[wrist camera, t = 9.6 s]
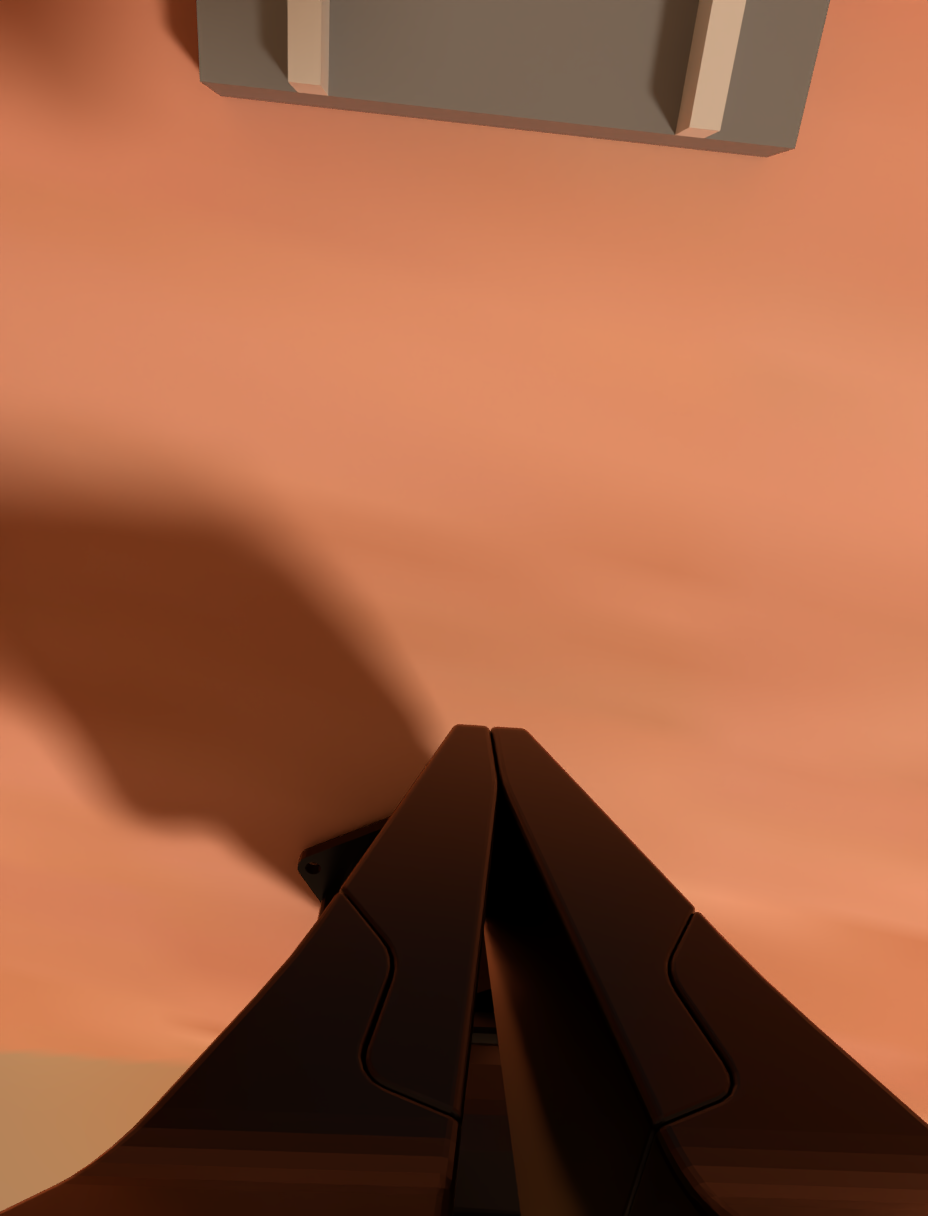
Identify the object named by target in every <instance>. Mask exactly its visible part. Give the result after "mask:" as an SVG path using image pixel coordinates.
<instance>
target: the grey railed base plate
mask: <svg viewBox="0 0 928 1216" xmlns="http://www.w3.org/2000/svg"><path fill="white" fill-rule="evenodd" d="M829 3H830V0H196V5H197V27H198V49H199V72H200V82H202V83H203V84H205V85H206V86H207V87H209V88H210V89H212V90H213V91H214V92H216V93H217V94H219V95H220V96H225V97H234V98H243V99H252V100H261V101H270V102H279V103H288V104H297V105H305V106H314V107H323V108H332V109H341V110H350V111H359V112H368V113H377V114H386V115H395V116H404V117H412V118H421V119H430V120H439V121H448V122H457V123H466V124H475V125H484V126H493V127H502V128H510V129H519V130H528V131H537V132H546V133H555V134H564V135H573V136H582V137H591V138H600V139H608V140H617V141H626V142H635V143H644V144H653V145H662V146H671V147H680V148H689V149H698V150H706V151H715V152H724V153H733V154H742V155H751V156H760V157H769V156H773V155H776V154H779V153H782V152H785V151H789V150H792V149H795V146H796V141H797V137H798V133H799V129H800V125H801V120H802V116H803V112H804V108H805V104H806V99H807V95H808V91H809V87H810V83H811V78H812V74H813V70H814V66H815V61H816V57H817V53H818V49H819V45H820V40H821V36H822V32H823V28H824V24H825V19H826V15H827V11H828V7H829Z"/></svg>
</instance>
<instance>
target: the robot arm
mask: <svg viewBox="0 0 928 1216" xmlns="http://www.w3.org/2000/svg"><path fill="white" fill-rule="evenodd" d="M311 862H314V863H317V864H319V865H311V864H310V863H311ZM298 871H299V873H300V875H301V876H302V877H303V879H304V880H305V881H306V883H307V884H308V886H309V887H310V888H311V890H312V891H313V892H314V894H315V895H316V896H317V898H318V899H319V900H320V902H321V905H320V910H319V915H318V920H317V922H316V923H315V924H314V926H313V927H312V928H311V929H310V931H309V932H308V933H307V935H306V936H305V937H304V939H303V940H302V941H301V943H300V944H299V945H298V947H297V948H296V949H295V951H294V952H293V953H292V954H291V956H290V957H289V958H288V959H287V960H286V962H285V963H284V964H283V965H282V966H281V967H280V968H279V970H278V971H277V972H276V973H275V974H274V975H273V976H272V978H271V979H270V980H269V981H268V982H267V983H266V984H265V986H264V987H263V988H262V989H261V990H260V991H259V992H258V994H257V995H256V996H255V997H254V998H253V999H252V1000H251V1001H250V1002H249V1004H248V1005H247V1006H246V1007H245V1008H244V1009H243V1010H242V1011H241V1012H240V1013H239V1014H238V1015H237V1017H236V1018H235V1019H234V1020H233V1021H232V1022H231V1023H230V1024H229V1025H228V1026H227V1027H226V1028H225V1029H224V1031H223V1032H222V1033H221V1034H220V1035H219V1036H218V1037H217V1038H216V1039H215V1040H214V1041H213V1042H212V1043H211V1045H210V1046H209V1047H208V1048H207V1049H206V1050H205V1051H204V1052H203V1053H202V1054H201V1055H200V1056H199V1058H198V1059H197V1060H196V1061H195V1062H194V1063H193V1064H192V1065H191V1066H190V1067H189V1068H188V1069H187V1070H186V1072H185V1073H184V1074H183V1075H182V1076H181V1077H180V1078H179V1079H178V1080H177V1081H176V1082H175V1084H173V1086H172V1087H171V1088H170V1089H169V1090H168V1091H167V1092H166V1093H165V1094H164V1096H162V1097H161V1099H160V1100H159V1101H158V1102H157V1103H156V1104H155V1105H154V1106H153V1107H152V1108H151V1109H150V1110H149V1111H148V1112H147V1114H146V1115H145V1116H144V1117H143V1118H142V1119H141V1120H140V1121H139V1122H138V1123H137V1124H136V1125H135V1126H134V1127H133V1128H132V1129H131V1130H130V1131H129V1132H127V1133H126V1134H125V1135H124V1136H123V1137H122V1138H121V1139H120V1140H119V1141H118V1142H117V1143H115V1144H114V1145H113V1146H112V1147H111V1148H109V1149H108V1150H107V1151H106V1152H104V1153H103V1154H102V1155H100V1156H99V1157H98V1158H97V1159H95V1160H94V1161H93V1162H92V1163H91V1164H89V1165H87V1166H86V1167H85V1168H83V1169H82V1170H80V1171H78V1172H77V1173H75V1174H74V1175H72V1176H71V1177H69V1178H68V1179H66V1180H64V1181H62V1182H60V1183H59V1184H56V1185H54V1186H52V1187H50V1188H48V1189H46V1190H44V1191H42V1192H40V1193H38V1194H36V1195H34V1196H32V1197H30V1198H27V1199H25V1200H23V1201H21V1202H19V1203H17V1204H15V1205H13V1206H11V1207H9V1208H7V1209H5V1210H3V1211H1V1212H0V1216H928V1124H927V1123H926V1122H925V1121H924V1120H922V1119H921V1118H920V1117H919V1116H918V1115H917V1114H916V1113H915V1112H913V1111H912V1110H911V1109H910V1108H909V1107H908V1106H907V1105H906V1104H904V1103H903V1102H902V1101H901V1100H900V1099H899V1098H898V1097H896V1096H895V1095H894V1094H893V1093H892V1092H891V1091H890V1090H889V1089H887V1088H886V1087H885V1086H884V1085H883V1084H882V1083H881V1082H879V1081H878V1080H877V1079H876V1078H875V1077H874V1076H873V1075H872V1074H870V1073H869V1072H868V1071H867V1070H866V1069H865V1068H864V1067H862V1066H861V1065H860V1064H859V1063H858V1062H857V1061H856V1060H855V1059H853V1058H852V1057H851V1056H850V1055H849V1054H848V1053H847V1052H845V1051H844V1050H843V1049H842V1048H841V1047H840V1046H839V1045H838V1044H836V1043H835V1042H834V1041H833V1040H832V1039H831V1038H830V1037H829V1036H827V1035H826V1034H825V1033H824V1032H823V1031H822V1030H821V1029H819V1028H818V1027H817V1026H816V1025H815V1024H814V1023H813V1022H812V1021H810V1020H809V1019H808V1018H807V1017H806V1016H805V1015H804V1014H803V1013H802V1012H801V1011H800V1010H798V1009H797V1008H796V1007H795V1006H794V1005H793V1004H792V1003H791V1002H790V1001H789V1000H788V999H787V998H785V997H784V996H783V995H782V994H781V993H780V992H779V991H778V990H777V989H776V988H775V987H773V986H772V985H771V984H770V983H769V982H768V981H767V980H766V979H765V978H764V977H763V976H762V975H761V974H760V973H759V972H758V971H757V970H756V969H755V968H754V967H753V966H752V965H751V964H750V963H749V962H748V961H747V960H746V959H745V958H744V957H743V956H742V955H741V954H740V953H739V952H738V951H737V950H736V949H735V948H734V947H733V946H732V945H731V944H730V943H729V942H728V941H727V940H726V939H725V938H724V937H723V936H722V935H721V934H720V933H719V932H718V931H717V930H716V929H715V928H714V927H713V926H712V925H711V924H710V922H709V921H708V920H707V919H706V918H705V917H704V916H703V915H702V914H701V913H699V912H695V908H694V906H693V905H692V904H691V903H690V902H689V901H688V900H687V899H686V898H685V897H684V896H683V894H682V893H681V892H680V891H679V890H678V889H677V888H676V887H675V886H674V885H673V884H672V883H671V882H670V881H669V880H668V879H667V878H666V877H665V875H664V874H663V873H662V872H661V871H660V870H659V869H658V868H657V867H656V866H655V865H654V864H653V863H652V862H651V861H650V860H649V859H648V858H647V857H646V855H645V854H644V853H643V852H642V851H641V850H640V849H639V848H638V847H637V846H636V845H635V844H634V843H633V842H632V841H631V840H630V839H629V838H628V837H627V835H626V834H625V833H624V832H623V831H622V830H621V829H620V828H619V827H618V826H617V825H616V824H615V823H614V822H613V821H612V820H611V819H610V818H609V816H608V815H607V814H606V813H605V812H604V811H603V810H602V809H601V808H600V807H599V806H598V805H597V804H596V803H595V802H594V801H593V800H592V799H591V798H590V796H589V795H588V794H587V793H586V792H585V791H584V790H583V789H582V788H581V787H580V786H579V785H578V784H577V783H576V782H575V781H574V780H573V779H572V778H571V776H570V775H569V774H568V773H567V772H566V771H565V770H564V769H563V768H562V767H561V766H560V765H559V764H558V763H557V762H556V761H555V760H554V759H553V757H552V756H551V755H550V754H549V753H548V752H547V751H546V750H545V749H544V748H543V747H542V746H541V745H540V744H539V743H538V742H537V741H536V740H535V739H534V737H533V736H532V735H531V734H530V733H529V732H528V731H526V730H525V729H522V728H508V727H494V728H492V729H491V731H490V730H489V728H487V727H486V726H478V725H463V724H457V725H455V726H454V727H453V728H452V729H451V731H450V732H449V734H448V735H447V737H446V738H445V739H444V741H443V742H442V744H441V745H440V747H439V748H438V749H437V751H436V752H435V754H434V755H433V757H432V758H431V759H430V761H429V762H428V764H427V765H426V767H425V768H424V769H423V771H422V772H421V774H420V775H419V777H418V778H417V779H416V781H415V782H414V784H413V785H412V787H411V788H410V789H409V791H408V792H407V794H406V795H405V797H404V798H403V799H402V801H401V802H400V804H399V805H398V807H397V808H396V809H395V811H394V812H393V814H392V815H391V817H389V818H387V819H384V820H381V821H379V822H376V823H374V824H371V825H368V826H366V827H363V828H361V829H358V830H355V831H353V832H350V833H347V834H345V835H342V836H340V837H337V838H334V839H332V840H329V841H327V842H324V843H321V844H319V845H316V846H313V847H311V848H308V849H306V850H305V851H303V852H302V854H301V855H300V859H299V863H298Z"/></svg>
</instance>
